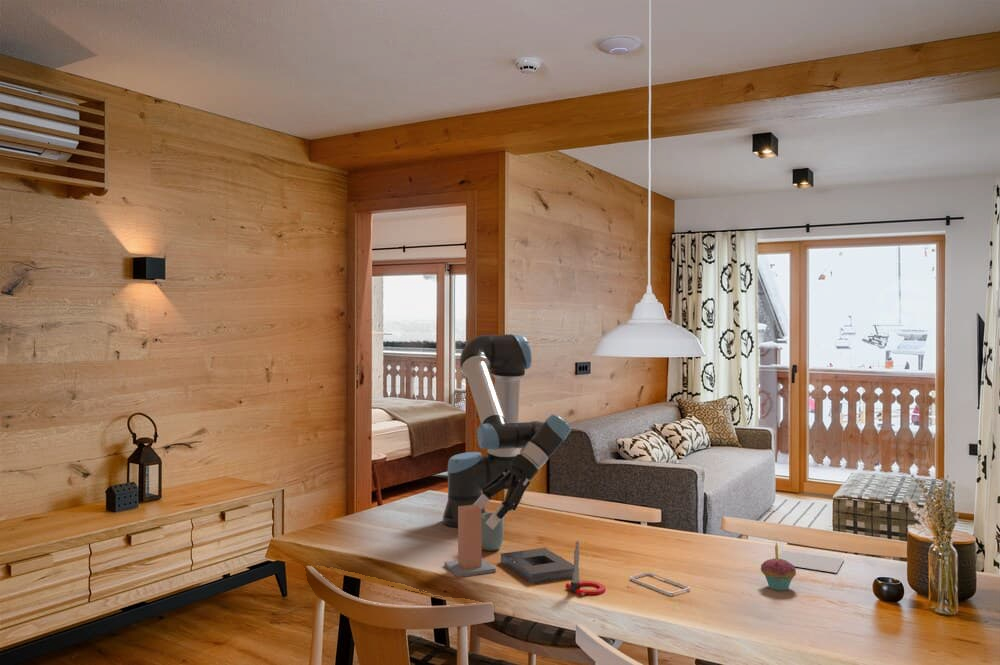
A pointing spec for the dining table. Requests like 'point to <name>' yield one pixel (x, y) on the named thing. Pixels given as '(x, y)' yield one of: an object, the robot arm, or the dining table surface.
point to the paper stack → (811, 561)
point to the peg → (469, 536)
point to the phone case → (657, 587)
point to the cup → (491, 534)
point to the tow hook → (576, 583)
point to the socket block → (538, 565)
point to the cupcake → (778, 572)
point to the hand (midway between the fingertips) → (479, 520)
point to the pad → (461, 572)
